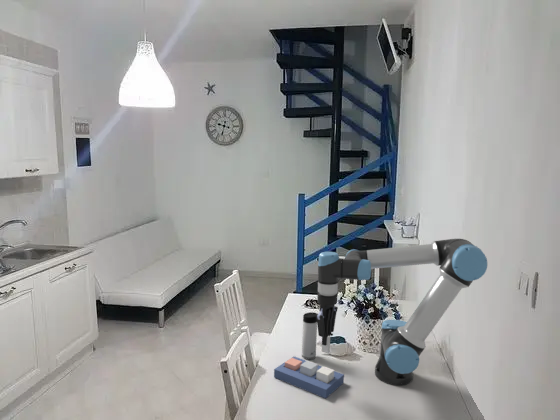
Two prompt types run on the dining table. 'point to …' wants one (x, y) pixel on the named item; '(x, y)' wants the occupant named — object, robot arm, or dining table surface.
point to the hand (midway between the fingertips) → (325, 351)
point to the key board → (308, 380)
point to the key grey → (308, 368)
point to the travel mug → (309, 336)
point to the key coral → (293, 364)
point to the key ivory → (325, 374)
